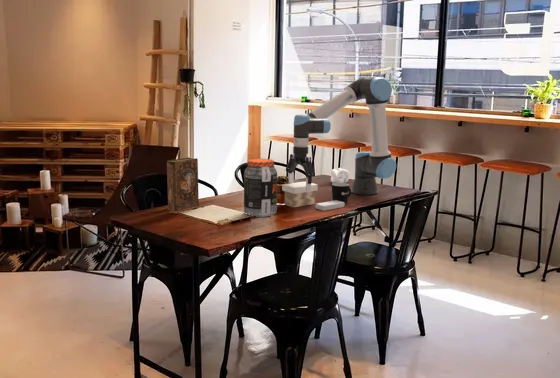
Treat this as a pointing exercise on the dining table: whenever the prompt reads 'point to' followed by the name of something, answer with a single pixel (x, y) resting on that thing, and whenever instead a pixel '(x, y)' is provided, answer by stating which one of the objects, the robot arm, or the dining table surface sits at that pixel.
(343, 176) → the white spiral shell
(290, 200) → the box
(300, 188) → the lid
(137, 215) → the dining table surface
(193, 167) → the book
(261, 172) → the supplement tub
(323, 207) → the block
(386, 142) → the robot arm
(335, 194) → the mug
